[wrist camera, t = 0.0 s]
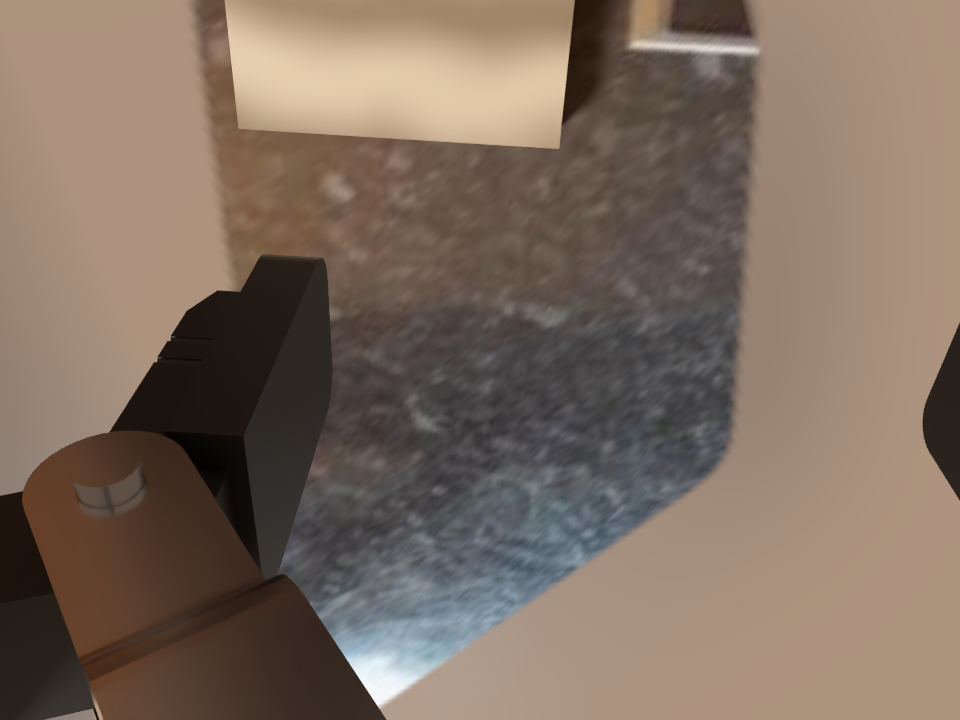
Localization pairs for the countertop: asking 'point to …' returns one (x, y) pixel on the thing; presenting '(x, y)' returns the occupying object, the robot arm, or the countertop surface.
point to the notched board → (403, 68)
